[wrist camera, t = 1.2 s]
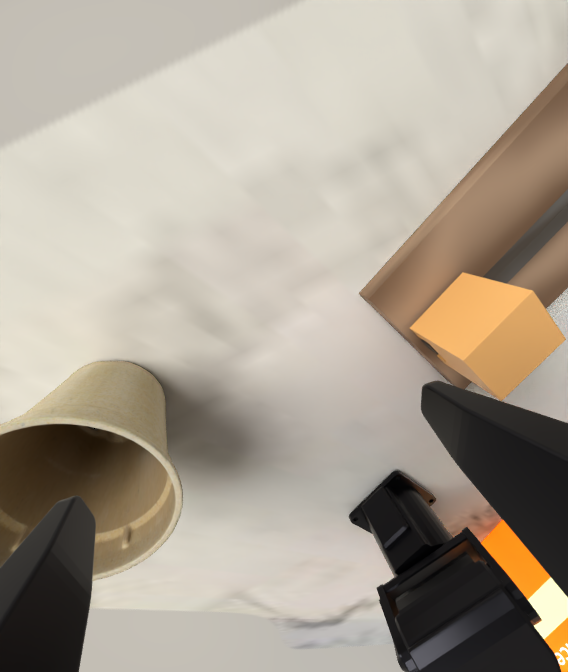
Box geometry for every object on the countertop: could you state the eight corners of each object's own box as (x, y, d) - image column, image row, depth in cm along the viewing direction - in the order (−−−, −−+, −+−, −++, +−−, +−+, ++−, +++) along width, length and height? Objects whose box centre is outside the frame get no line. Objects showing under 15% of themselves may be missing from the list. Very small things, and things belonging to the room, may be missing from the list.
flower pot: (162, 471, 25) (143, 594, 17) (16, 441, 21) (-92, 578, 14) (210, 364, 22) (214, 449, 15) (56, 313, 19) (-46, 388, 11)
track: (663, 169, 25) (779, 160, 20) (449, 382, 28) (503, 421, 23) (610, 16, 20) (746, -47, 15) (358, 293, 23) (401, 318, 18)
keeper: (494, 312, 24) (566, 339, 19) (444, 363, 24) (501, 400, 20) (462, 272, 22) (533, 290, 17) (409, 328, 23) (463, 360, 18)
